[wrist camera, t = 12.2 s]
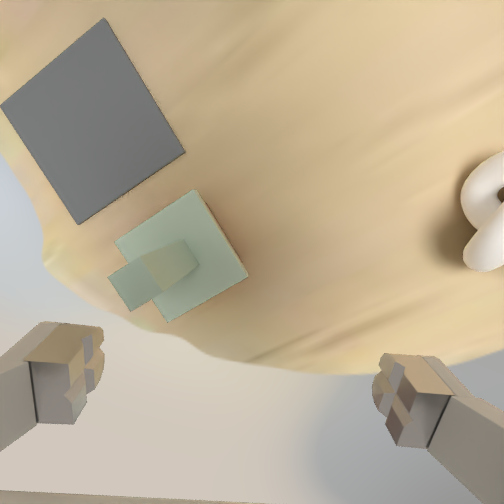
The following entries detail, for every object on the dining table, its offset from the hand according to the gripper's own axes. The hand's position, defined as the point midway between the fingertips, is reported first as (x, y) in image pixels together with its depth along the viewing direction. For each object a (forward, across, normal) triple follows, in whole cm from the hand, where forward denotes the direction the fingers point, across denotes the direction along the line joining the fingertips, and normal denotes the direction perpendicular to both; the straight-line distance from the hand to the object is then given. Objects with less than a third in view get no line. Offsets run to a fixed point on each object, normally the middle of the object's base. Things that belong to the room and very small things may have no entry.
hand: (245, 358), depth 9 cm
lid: (+22, +6, +6) cm, 24 cm away
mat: (+31, +18, -5) cm, 36 cm away
